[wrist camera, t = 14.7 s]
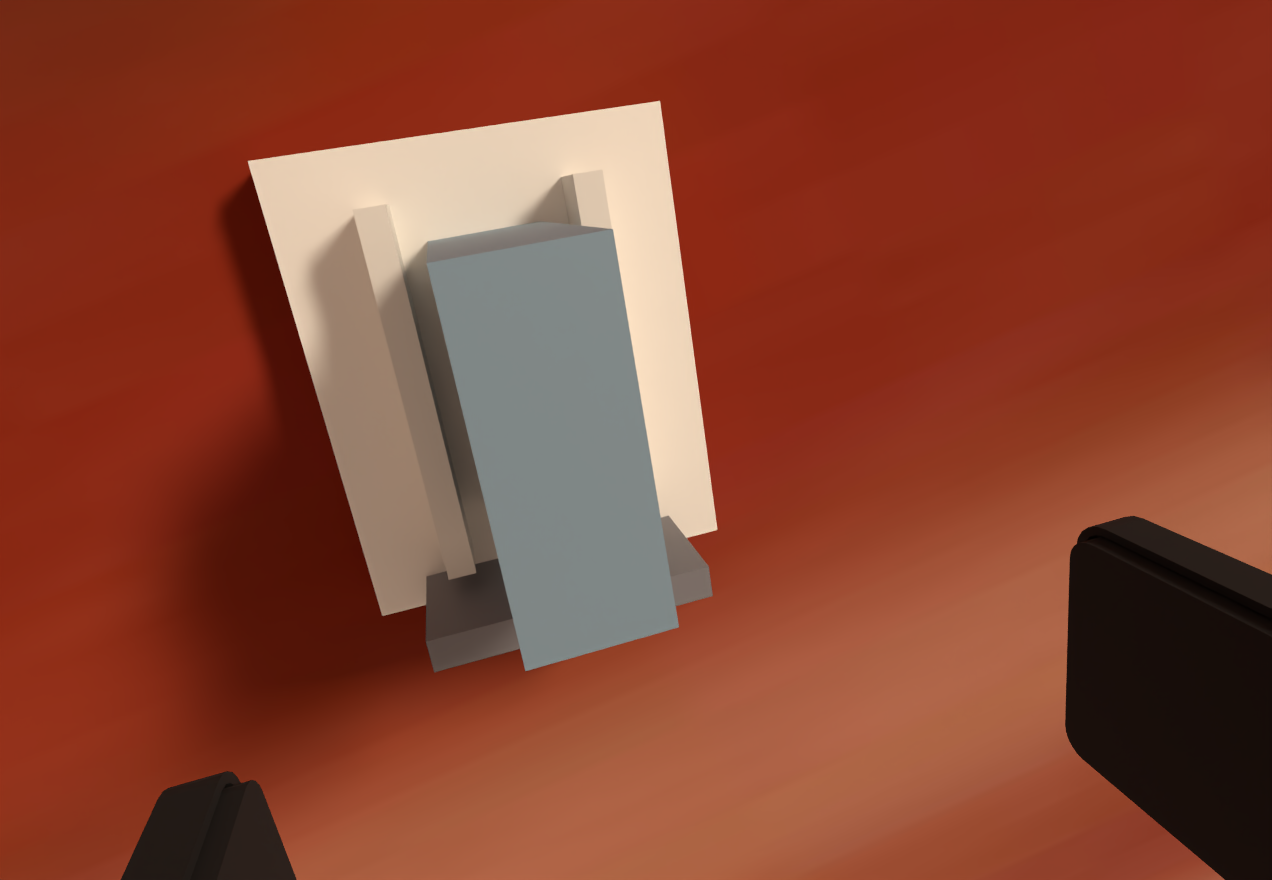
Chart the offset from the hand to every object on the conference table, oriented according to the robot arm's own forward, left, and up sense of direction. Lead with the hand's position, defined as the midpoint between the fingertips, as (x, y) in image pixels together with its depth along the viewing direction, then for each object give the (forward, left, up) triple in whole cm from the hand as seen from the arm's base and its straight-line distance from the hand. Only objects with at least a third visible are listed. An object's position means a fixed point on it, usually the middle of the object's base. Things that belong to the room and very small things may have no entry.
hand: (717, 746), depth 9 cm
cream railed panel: (0, 0, -24) cm, 24 cm away
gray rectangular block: (0, 0, -22) cm, 22 cm away
